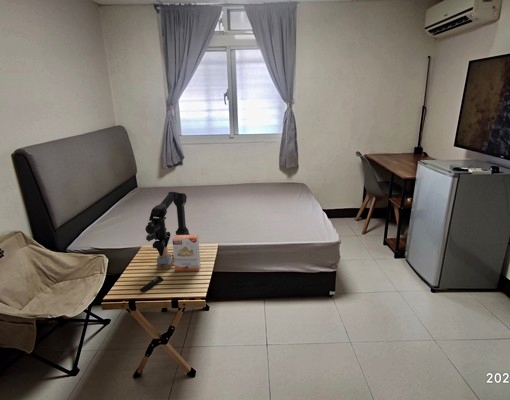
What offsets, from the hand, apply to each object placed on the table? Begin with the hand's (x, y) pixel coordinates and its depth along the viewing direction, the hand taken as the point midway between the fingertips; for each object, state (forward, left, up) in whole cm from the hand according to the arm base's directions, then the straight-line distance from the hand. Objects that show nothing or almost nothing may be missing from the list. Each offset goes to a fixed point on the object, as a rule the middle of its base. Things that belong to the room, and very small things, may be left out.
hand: (163, 252), depth 187 cm
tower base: (0, 0, -9) cm, 9 cm away
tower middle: (0, 0, -6) cm, 6 cm away
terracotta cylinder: (0, 0, -2) cm, 2 cm away
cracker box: (-15, +5, -9) cm, 18 cm away
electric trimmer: (+1, +23, -10) cm, 25 cm away
